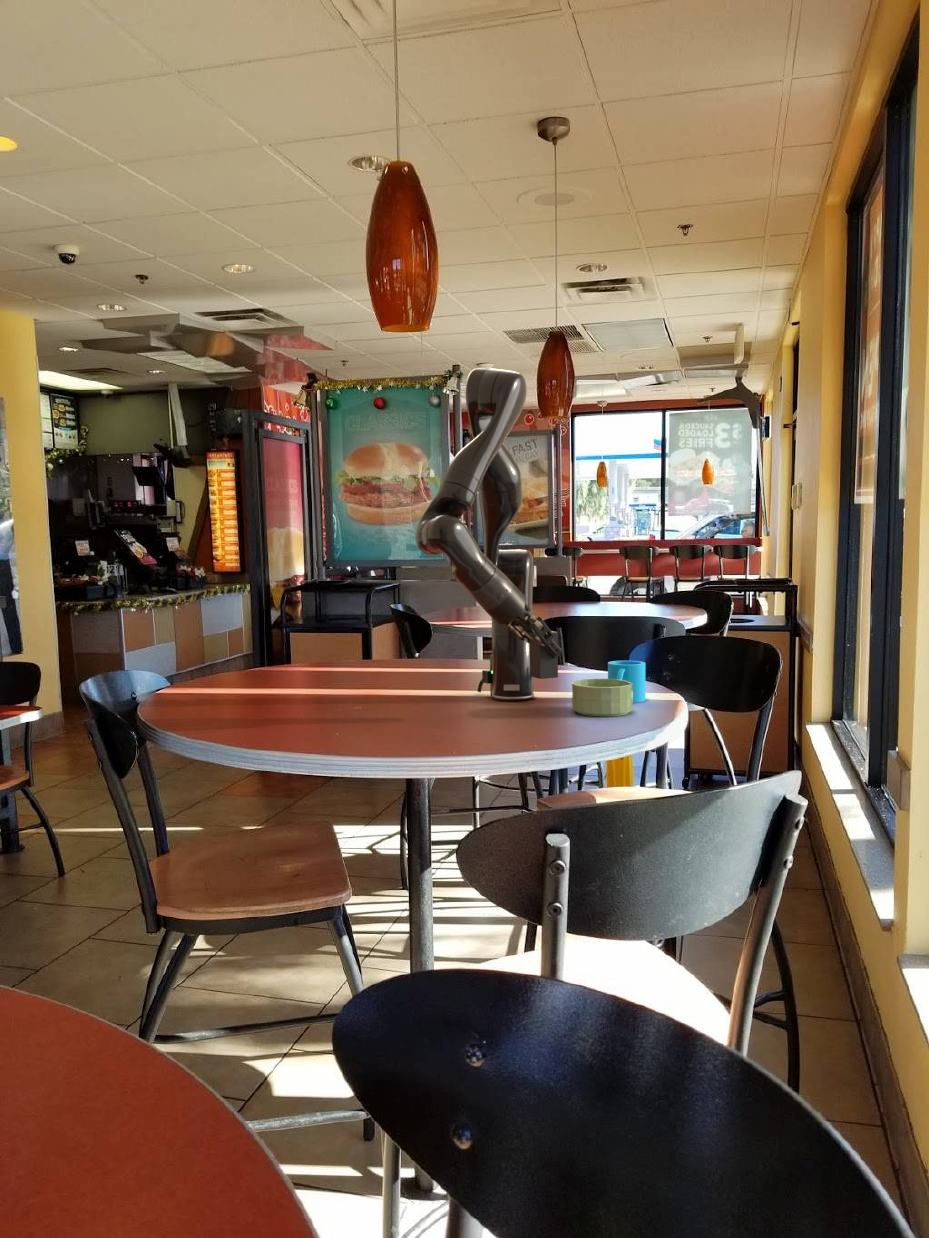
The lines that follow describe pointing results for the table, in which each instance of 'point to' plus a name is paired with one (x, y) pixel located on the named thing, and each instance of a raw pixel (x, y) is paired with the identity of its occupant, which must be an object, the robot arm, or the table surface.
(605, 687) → the bowl
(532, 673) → the dark rectangular block
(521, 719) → the table surface
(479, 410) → the robot arm
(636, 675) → the mug
